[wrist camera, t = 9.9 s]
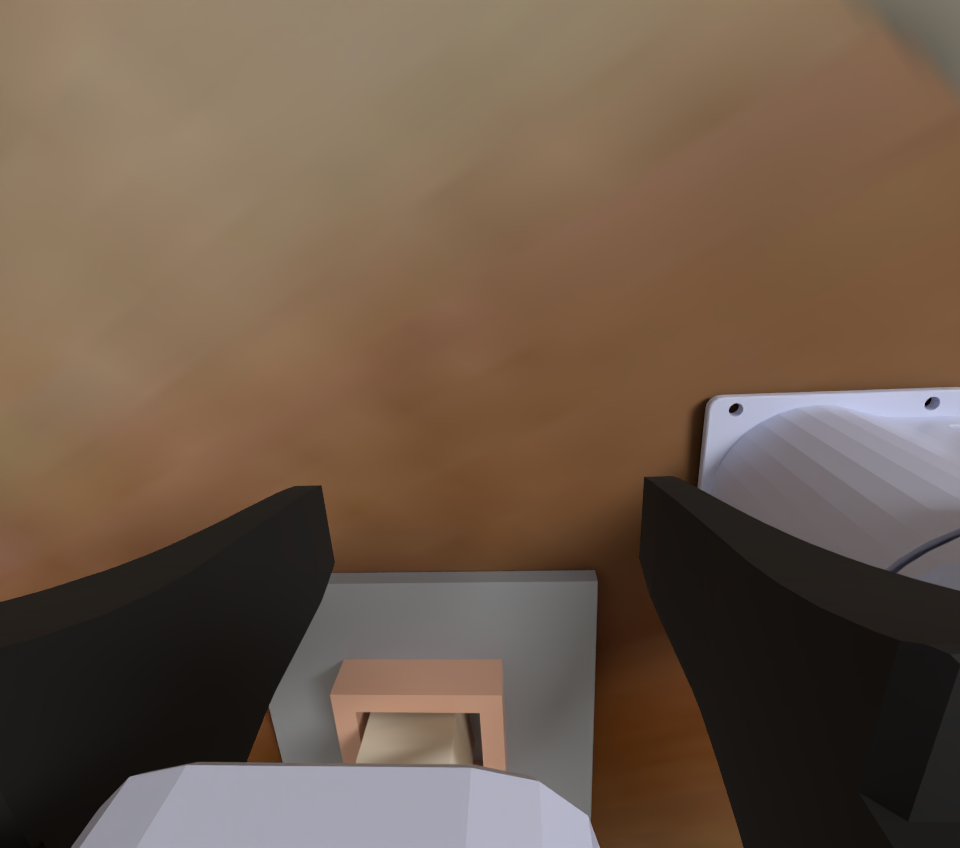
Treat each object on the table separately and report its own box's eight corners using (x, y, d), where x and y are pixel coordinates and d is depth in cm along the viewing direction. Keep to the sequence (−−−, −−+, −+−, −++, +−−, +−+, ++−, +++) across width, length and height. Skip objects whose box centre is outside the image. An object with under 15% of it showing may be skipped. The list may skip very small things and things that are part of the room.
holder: (594, 570, 23) (606, 613, 20) (588, 817, 28) (596, 877, 25) (247, 574, 24) (214, 615, 21) (304, 811, 29) (283, 867, 26)
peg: (459, 677, 24) (441, 842, 17) (474, 739, 25) (462, 914, 19) (378, 685, 24) (330, 848, 18) (397, 745, 26) (358, 918, 19)
